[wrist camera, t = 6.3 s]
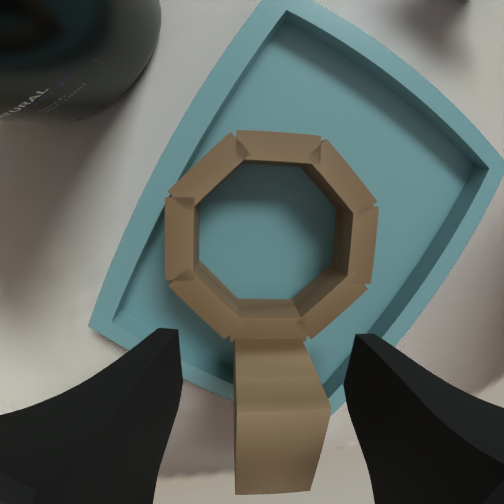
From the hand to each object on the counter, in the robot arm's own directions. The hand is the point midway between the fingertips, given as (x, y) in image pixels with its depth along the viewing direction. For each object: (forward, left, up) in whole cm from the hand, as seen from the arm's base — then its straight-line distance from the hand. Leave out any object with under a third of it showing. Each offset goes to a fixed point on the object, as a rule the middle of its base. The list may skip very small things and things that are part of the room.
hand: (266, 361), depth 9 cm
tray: (0, -4, -3) cm, 5 cm away
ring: (+1, -2, -2) cm, 3 cm away
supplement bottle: (+11, -6, -3) cm, 13 cm away
